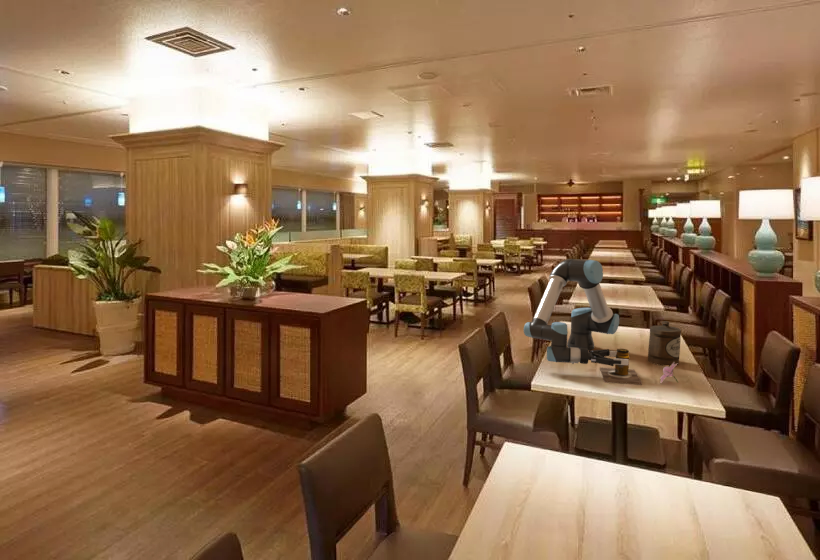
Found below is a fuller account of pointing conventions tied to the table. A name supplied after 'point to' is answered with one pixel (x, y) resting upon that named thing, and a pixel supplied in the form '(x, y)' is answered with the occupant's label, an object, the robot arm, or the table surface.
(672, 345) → the wooden container
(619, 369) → the condiment
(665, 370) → the lily
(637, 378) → the board
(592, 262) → the robot arm
